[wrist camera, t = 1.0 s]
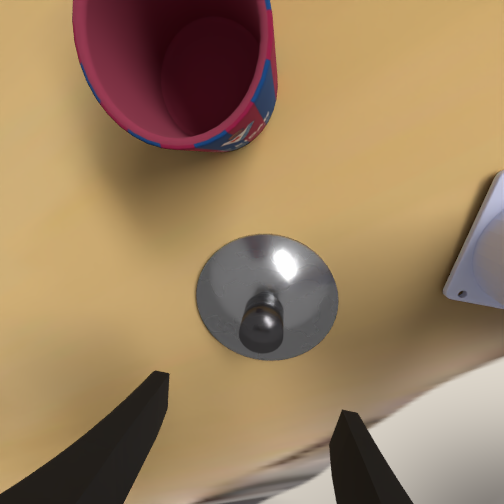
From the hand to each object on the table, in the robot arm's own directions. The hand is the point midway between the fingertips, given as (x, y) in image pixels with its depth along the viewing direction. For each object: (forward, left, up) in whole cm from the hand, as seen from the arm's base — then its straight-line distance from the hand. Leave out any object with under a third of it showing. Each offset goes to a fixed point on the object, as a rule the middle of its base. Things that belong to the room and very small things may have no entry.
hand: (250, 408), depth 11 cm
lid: (0, 0, -9) cm, 9 cm away
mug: (+6, -14, -9) cm, 18 cm away
